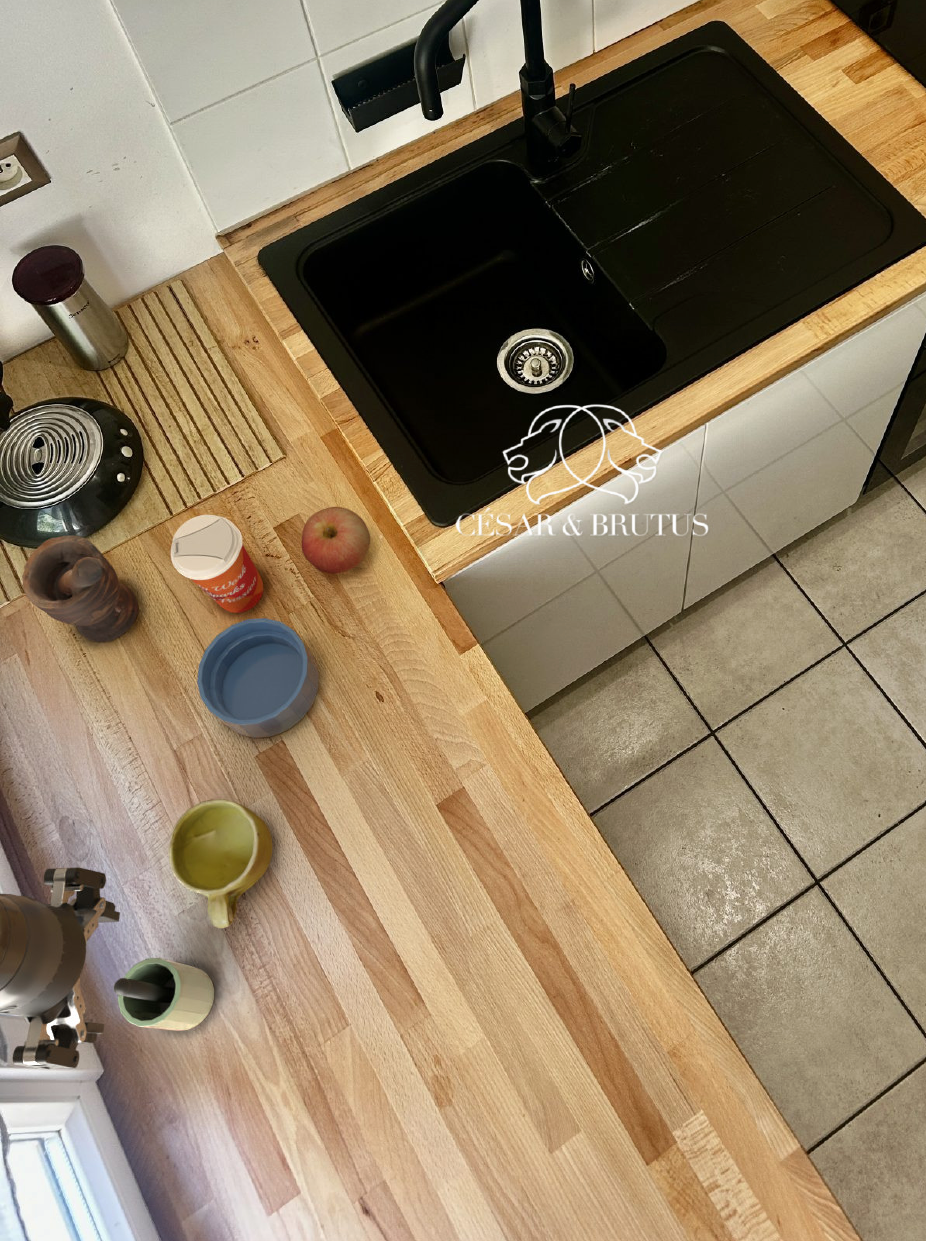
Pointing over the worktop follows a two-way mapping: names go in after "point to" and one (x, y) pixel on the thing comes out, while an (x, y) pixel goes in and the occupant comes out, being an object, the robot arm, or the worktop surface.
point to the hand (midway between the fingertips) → (100, 973)
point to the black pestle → (147, 991)
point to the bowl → (258, 677)
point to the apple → (335, 540)
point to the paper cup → (217, 562)
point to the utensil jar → (186, 1005)
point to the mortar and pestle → (79, 588)
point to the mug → (220, 854)
